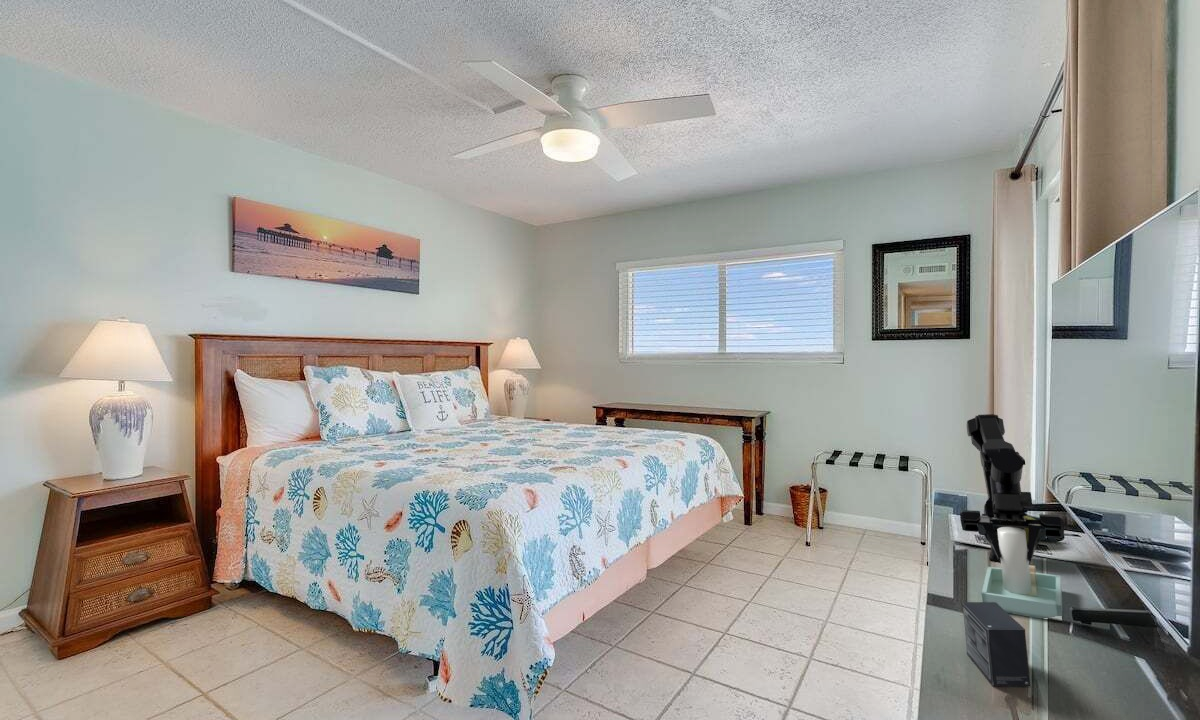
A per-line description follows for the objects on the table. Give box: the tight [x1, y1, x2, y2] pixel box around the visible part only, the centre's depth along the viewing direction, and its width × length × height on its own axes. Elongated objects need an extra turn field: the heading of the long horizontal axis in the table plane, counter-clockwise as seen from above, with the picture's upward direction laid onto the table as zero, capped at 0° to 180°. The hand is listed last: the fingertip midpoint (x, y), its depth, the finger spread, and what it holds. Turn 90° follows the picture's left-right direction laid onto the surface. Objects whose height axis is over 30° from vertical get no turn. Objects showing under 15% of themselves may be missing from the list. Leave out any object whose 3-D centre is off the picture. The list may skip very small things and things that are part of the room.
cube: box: [1011, 564, 1037, 596], centre depth 127 cm, size 5×5×5 cm
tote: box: [981, 566, 1063, 619], centre depth 124 cm, size 16×14×4 cm
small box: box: [961, 601, 1031, 688], centre depth 102 cm, size 11×6×10 cm, turn 169°
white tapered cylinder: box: [997, 527, 1032, 594], centre depth 122 cm, size 5×5×13 cm
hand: (1014, 559), depth 120 cm, fingers closed on white tapered cylinder, 5 cm apart
